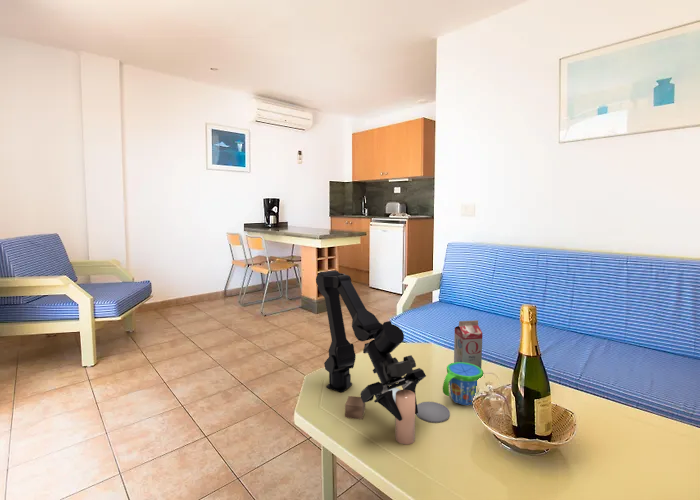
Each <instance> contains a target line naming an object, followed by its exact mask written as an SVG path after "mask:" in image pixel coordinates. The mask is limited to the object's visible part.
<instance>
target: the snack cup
mask: <svg viewBox="0 0 700 500" xmlns="http://www.w3.org/2000/svg"><path fill="white" fill-rule="evenodd" d="M446 372H447V373H446V375H445V378H444V380H443V385H442V393H443V394H444V395H445V396H446V397H451V399H452V401H453V403H456V404H458V405H461V406H462V405H463V406H467V407H468V406H470V405H471V406H472V405H473V404H472V401H473V398H474V396H475V393H476V386H477V380H478V379H479V378H481V377H482V376H483V374H484V371H483V369H482V367H481V368H479V367H478V366H476V365H473V364H470V363H465V362H454V361H453V362H452V363H451V362H450V363H449V364H448V365H447V366H446ZM484 375H485V374H484Z"/></svg>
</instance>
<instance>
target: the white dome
mask: <svg viewBox="0 0 700 500" xmlns="http://www.w3.org/2000/svg"><path fill="white" fill-rule="evenodd" d="M391 390H392V391H393V399H394V401H395V403H396V392H397V391H399V390H401V389H400V388H398V387H396V388H393V389H391ZM389 391H390V390H389Z"/></svg>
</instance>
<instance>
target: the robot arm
mask: <svg viewBox="0 0 700 500" xmlns="http://www.w3.org/2000/svg"><path fill="white" fill-rule="evenodd" d="M315 282H316V286H317V289H318V291H319V294H320V295H322V297H323V298H324V301H325V308H326V312H327V313H326V314H327V319H328V325H329V332H330V339H331V342H330V345H329V348H328V357H327V359H326V360H325V361H324V363H323V365H324V369H325V371H327V372H328V373H329V374H328V381H329V382H328V384H327V385H326V388H327V389H329V390H334V391H336V392H339V393H344V392H345V391H346V390H347V389H349V388H350V387H351V386H352V385H353V383H352V380H351V373H350V369H354V366H355V363H356V359H357V358H356V357H357V356H356V352H355V345H354V344H353V343H351V342H350V341H349V340H348V339H347V335H346V329H345V322H344V316H343V310H342V305H341V300H342V302H343V303H344V305H345V307H346V309H347V311H348V313H349V315H350V317H351V319H352V320H351V321H352V322H351V329H352V331H353V335H354V337H355V338H356V339H357V341H360V342H365V341H369V342H366V343H364V347H363V349H362V353H363V354H364V355H365V354H367V355H368V357H369V359H370V361H371V364H372V366H373V369H372V372H373V374H374V375H375V374H377V376H378V379H379V381H376V382H373V383H371V384H368V385H366V387H364V388H363V389H362V390H361V391H360V397H361V399H362V401H363V403H365V404H366V403H368V402H371V401H373V400H374V401H373V402H374V403H375V404H376V403H378V404H379V405H381V406H382V407H383V408H384V409H386V410H387V412H389V413H390V414H391V415H392V416H393V417H394V418H395V419H396V418H397V419H398V420H399V421H401V420H402V417H401V414H400V412H399V409H398V407H397V405H396V403H395V401H394V399H393V391H392V390H391V389H393V388H398V387H401V388H402V390H410V391H412V392H414V393H415V415H416V414H417V413H418V408H417V405H418V403H417V396H416V389H417V385H418V384H419V383H420V382H421V381H422V380H423V379H424V378H426V377H427V375H426V373H425V372H424V369H422V368H420V367H418V368H416V366H417V364H416V360H415V358H414V357H413V355H411V354H410V355H407V356H403V359H402V360H401V361H399V359H398V358H396V357H393V356H392V354H391V353H393V351H394V350H396V348H398V346H399V345H400V344H402V342H404V339H405V334H404V332H403V330H402V329H401V328H400V327H398V326H397V325H396V324H392V322H391V320H388V321H383V323H381V322H380V321H379V319H378V317H377V316H376V315H375V314H374V313H372V312H371V311H369V310H368V309H367V308H366V306H365V304H364V303H363V301H362V299H361V297H360V295H359V293H358V292H357V290H356V288H355V287H354V284H353V282H352V278H351V276H350V275H349V274H346V273H342V272H339V271H338V270H326V271H320V272H319V273H318V274H317V276H315ZM340 297H341V298H340ZM413 368H415V369H413ZM389 390H390V391H389ZM374 397H375V399H374Z"/></svg>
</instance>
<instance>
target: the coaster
mask: <svg viewBox="0 0 700 500" xmlns="http://www.w3.org/2000/svg"><path fill="white" fill-rule="evenodd" d="M417 408H418V413H417V414H415V416H416V417H417V418H418V419H420V420H422V421H424V422H427V423H433V424H439V423H444V422H446V421H448V420H449V419H450V416H451V411H450V410H449V408H448V407H447V406H445V405H444V404H442V403H439V402H437V401H436V402H434V401H422V402H419V403H417Z"/></svg>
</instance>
